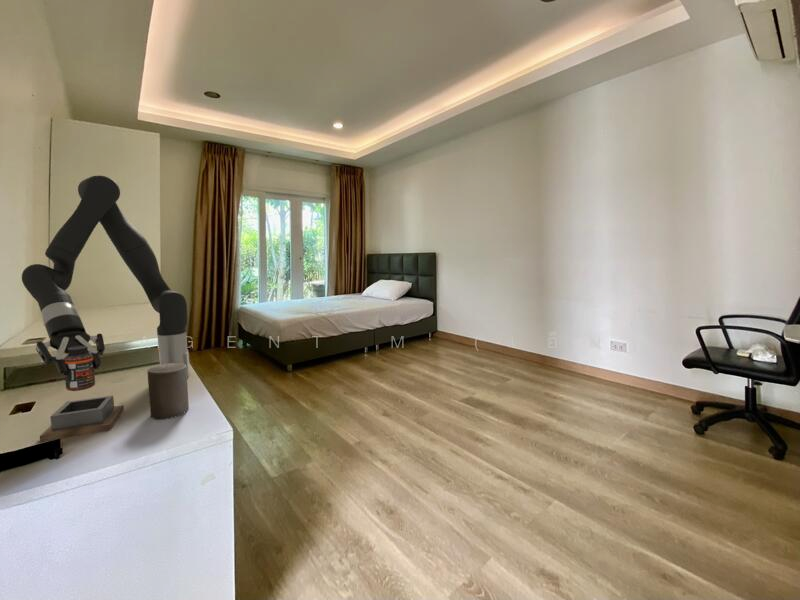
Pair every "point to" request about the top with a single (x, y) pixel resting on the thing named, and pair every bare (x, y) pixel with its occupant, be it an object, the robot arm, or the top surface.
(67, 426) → the grey square tray
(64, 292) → the robot arm
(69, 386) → the supplement bottle
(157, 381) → the pillar candle
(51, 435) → the socket board
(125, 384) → the top surface
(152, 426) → the top surface
